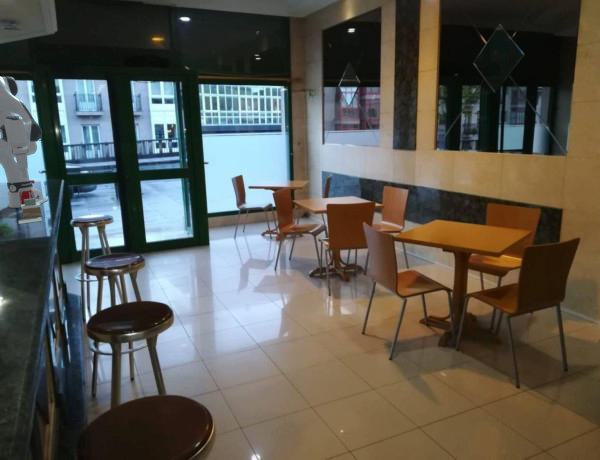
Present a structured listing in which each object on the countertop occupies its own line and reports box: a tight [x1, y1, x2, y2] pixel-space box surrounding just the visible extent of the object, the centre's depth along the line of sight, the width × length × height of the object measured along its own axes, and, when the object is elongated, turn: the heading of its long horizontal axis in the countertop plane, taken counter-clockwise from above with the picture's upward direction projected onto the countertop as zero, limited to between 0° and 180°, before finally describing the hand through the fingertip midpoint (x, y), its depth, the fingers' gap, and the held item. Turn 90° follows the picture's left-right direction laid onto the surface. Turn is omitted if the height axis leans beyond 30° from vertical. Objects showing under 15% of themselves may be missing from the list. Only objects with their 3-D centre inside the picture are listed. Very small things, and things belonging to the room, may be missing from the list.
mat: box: [17, 216, 43, 225], centre depth 234 cm, size 10×10×1 cm
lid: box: [20, 198, 41, 210], centre depth 243 cm, size 8×8×5 cm
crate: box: [21, 206, 43, 219], centre depth 244 cm, size 8×8×5 cm
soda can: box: [19, 189, 35, 205], centre depth 256 cm, size 7×7×12 cm
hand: (25, 176), depth 239 cm, fingers open, 8 cm apart
